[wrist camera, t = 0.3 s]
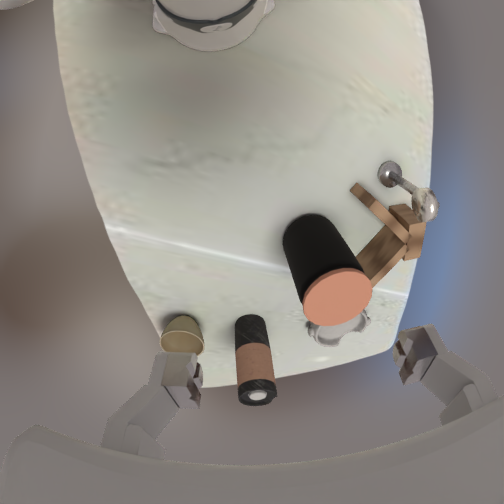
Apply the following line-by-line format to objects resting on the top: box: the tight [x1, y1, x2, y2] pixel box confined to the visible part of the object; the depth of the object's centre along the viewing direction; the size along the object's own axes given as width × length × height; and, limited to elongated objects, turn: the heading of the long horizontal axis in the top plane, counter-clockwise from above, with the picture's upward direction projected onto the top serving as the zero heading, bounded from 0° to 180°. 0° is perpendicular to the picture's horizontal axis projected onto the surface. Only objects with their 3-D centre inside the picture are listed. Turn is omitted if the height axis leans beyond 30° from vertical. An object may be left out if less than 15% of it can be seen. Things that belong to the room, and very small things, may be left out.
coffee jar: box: [283, 215, 372, 326], centre depth 45 cm, size 11×11×18 cm
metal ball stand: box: [378, 161, 439, 222], centre depth 39 cm, size 5×5×16 cm
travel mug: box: [235, 314, 277, 406], centre depth 56 cm, size 8×8×20 cm
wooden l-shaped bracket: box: [350, 183, 426, 288], centre depth 49 cm, size 20×13×8 cm, turn 9°
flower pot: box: [159, 316, 204, 356], centre depth 60 cm, size 10×10×7 cm
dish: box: [308, 310, 371, 347], centre depth 64 cm, size 14×14×5 cm
